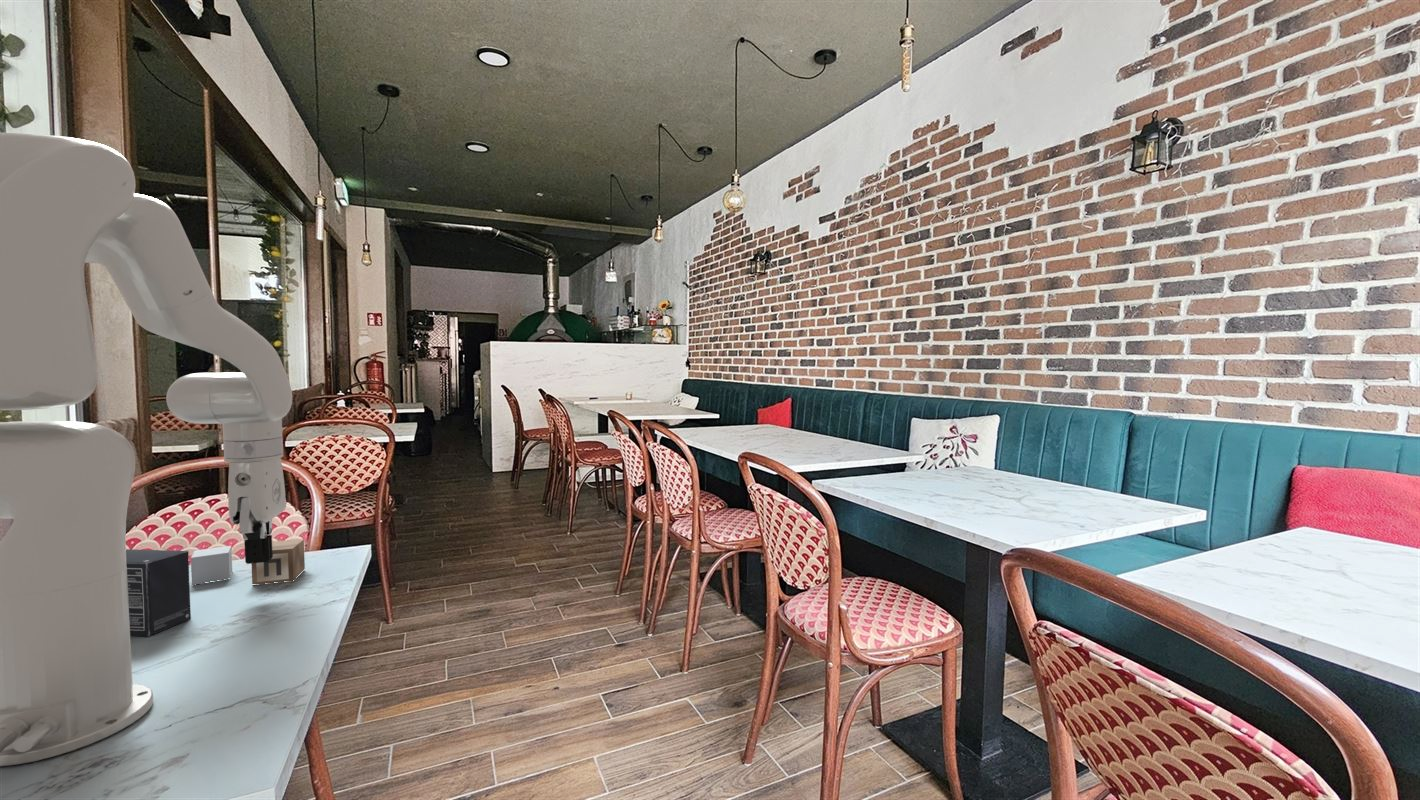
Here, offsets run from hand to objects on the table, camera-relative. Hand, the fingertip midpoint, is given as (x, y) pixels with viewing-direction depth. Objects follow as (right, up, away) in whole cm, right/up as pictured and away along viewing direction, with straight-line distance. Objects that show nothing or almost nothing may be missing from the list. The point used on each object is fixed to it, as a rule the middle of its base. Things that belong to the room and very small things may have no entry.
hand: (259, 561), depth 94 cm
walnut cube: (-2, -3, +6) cm, 7 cm away
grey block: (-15, -6, +8) cm, 18 cm away
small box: (-9, -7, -11) cm, 15 cm away
